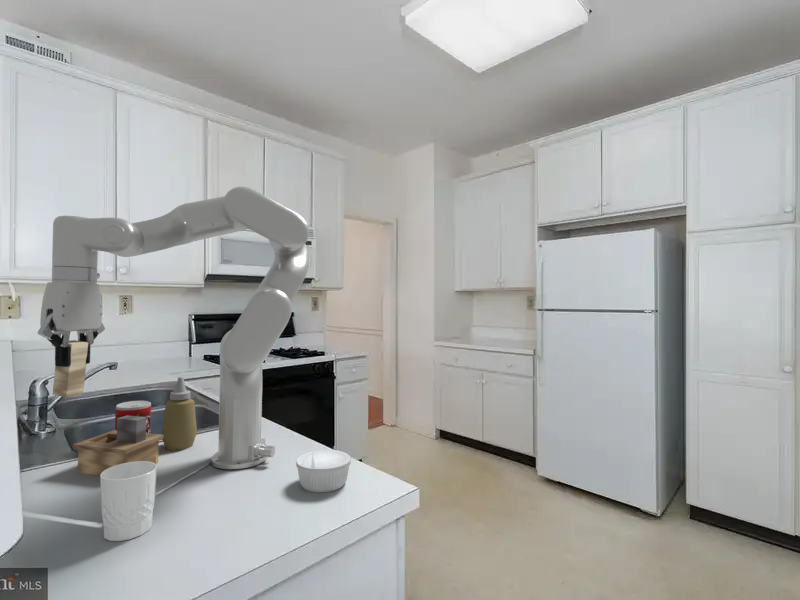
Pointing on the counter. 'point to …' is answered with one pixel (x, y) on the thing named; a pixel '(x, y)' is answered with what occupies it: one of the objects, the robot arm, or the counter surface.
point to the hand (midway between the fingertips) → (72, 363)
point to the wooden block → (72, 372)
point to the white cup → (128, 499)
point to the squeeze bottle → (179, 419)
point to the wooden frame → (122, 437)
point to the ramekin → (323, 470)
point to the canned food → (135, 411)
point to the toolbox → (113, 457)
